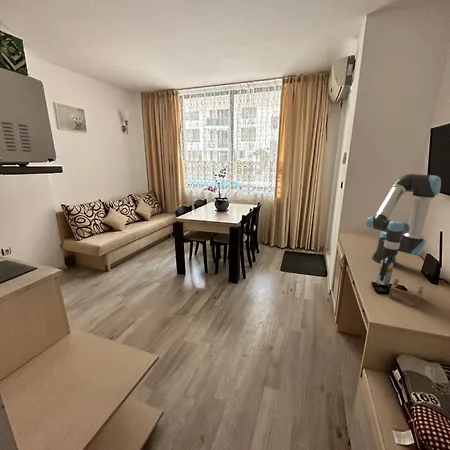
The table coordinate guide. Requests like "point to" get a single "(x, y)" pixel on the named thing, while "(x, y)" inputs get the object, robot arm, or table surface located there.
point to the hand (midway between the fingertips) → (382, 282)
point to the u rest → (404, 295)
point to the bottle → (388, 273)
